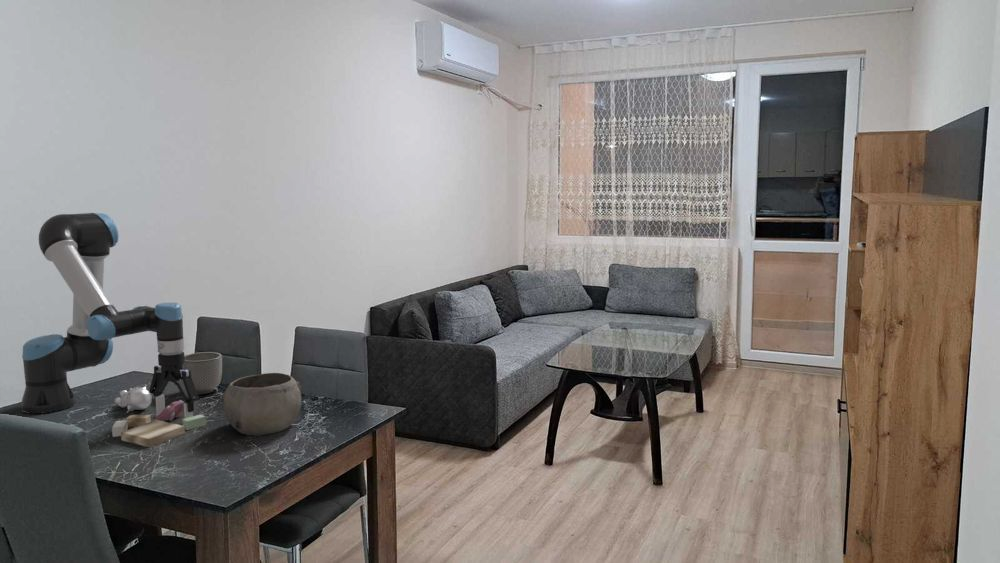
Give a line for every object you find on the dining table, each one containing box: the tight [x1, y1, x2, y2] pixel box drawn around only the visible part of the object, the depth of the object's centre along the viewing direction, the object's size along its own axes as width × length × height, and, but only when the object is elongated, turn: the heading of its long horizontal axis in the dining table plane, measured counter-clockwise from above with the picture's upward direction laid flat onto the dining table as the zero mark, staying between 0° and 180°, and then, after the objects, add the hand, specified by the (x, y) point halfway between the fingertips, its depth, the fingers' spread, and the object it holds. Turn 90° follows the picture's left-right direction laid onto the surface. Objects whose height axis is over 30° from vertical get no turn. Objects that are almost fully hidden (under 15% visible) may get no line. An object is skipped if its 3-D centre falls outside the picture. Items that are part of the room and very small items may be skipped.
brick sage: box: [181, 414, 207, 431], centre depth 218 cm, size 6×3×3 cm, turn 140°
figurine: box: [114, 384, 153, 414], centre depth 235 cm, size 11×7×15 cm
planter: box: [182, 351, 223, 395], centre depth 253 cm, size 14×14×13 cm
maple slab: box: [120, 419, 186, 448], centre depth 209 cm, size 12×12×2 cm
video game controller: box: [154, 399, 185, 422], centre depth 225 cm, size 10×5×7 cm, turn 169°
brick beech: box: [125, 414, 152, 428], centre depth 219 cm, size 6×3×3 cm, turn 90°
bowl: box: [221, 372, 302, 436], centre depth 218 cm, size 23×23×15 cm
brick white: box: [111, 419, 129, 438], centre depth 212 cm, size 6×3×3 cm, turn 18°
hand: (175, 418), depth 225 cm, fingers open, 12 cm apart
